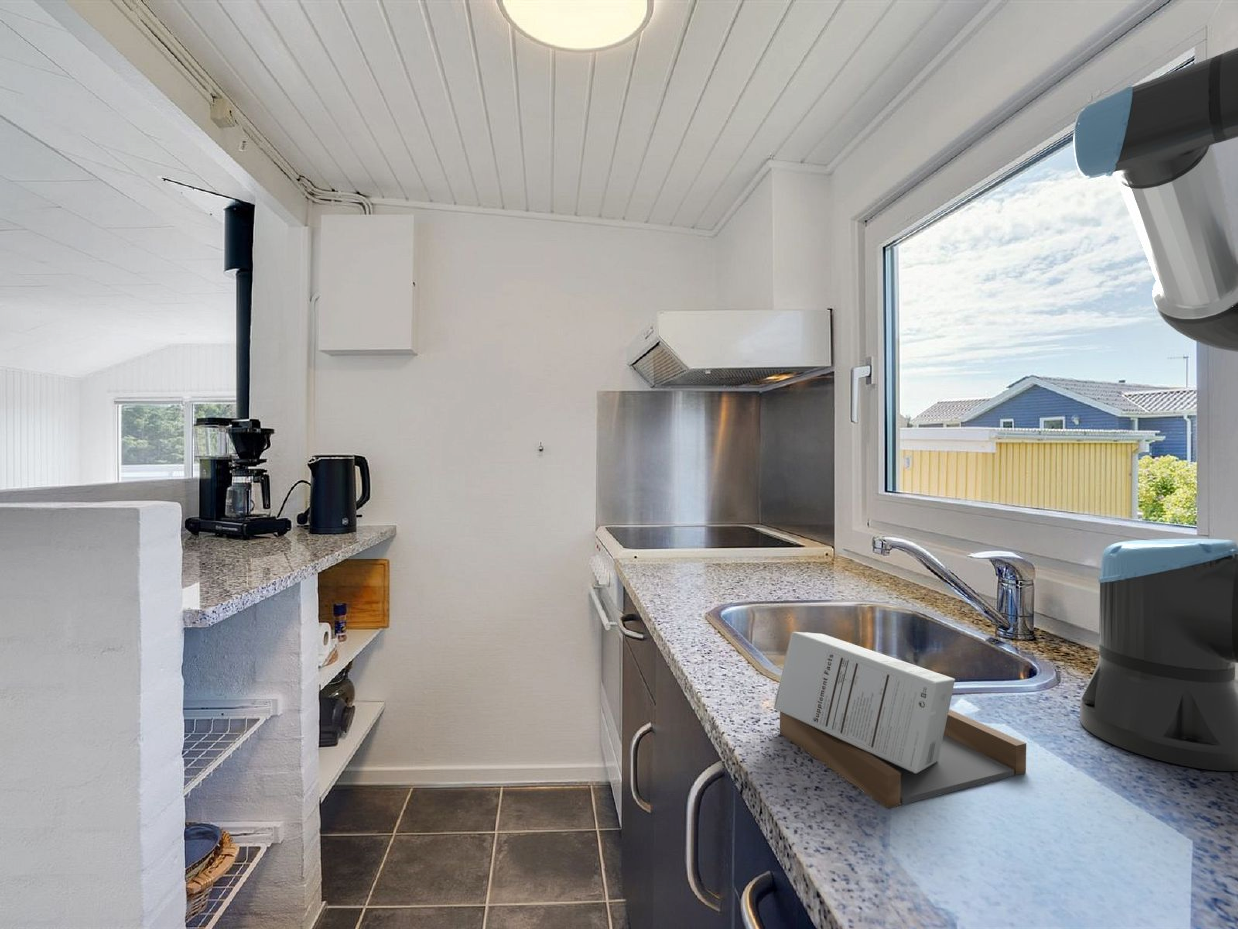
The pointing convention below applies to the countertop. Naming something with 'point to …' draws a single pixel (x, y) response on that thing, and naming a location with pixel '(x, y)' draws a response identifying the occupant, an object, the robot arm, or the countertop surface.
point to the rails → (882, 777)
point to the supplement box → (866, 699)
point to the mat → (949, 772)
